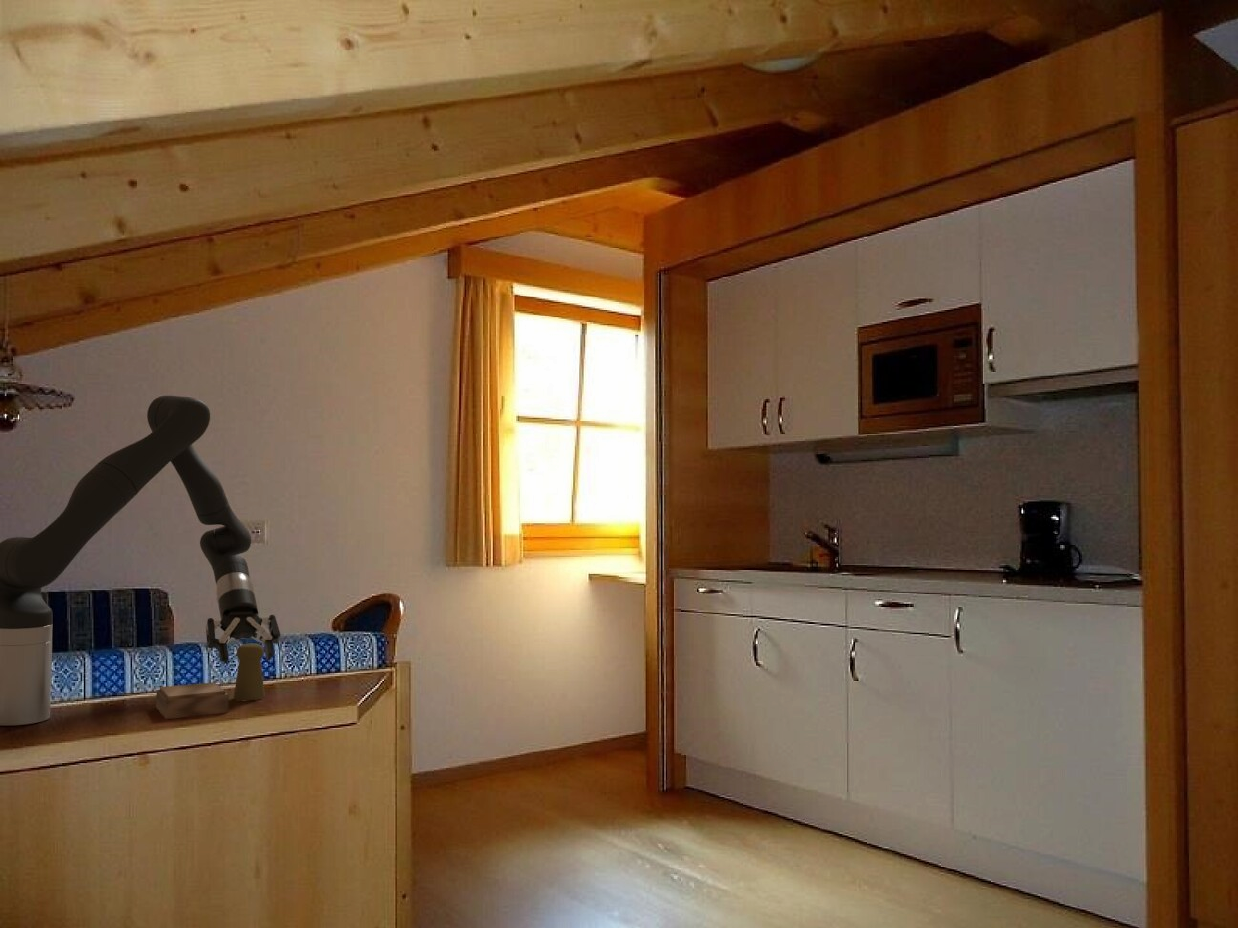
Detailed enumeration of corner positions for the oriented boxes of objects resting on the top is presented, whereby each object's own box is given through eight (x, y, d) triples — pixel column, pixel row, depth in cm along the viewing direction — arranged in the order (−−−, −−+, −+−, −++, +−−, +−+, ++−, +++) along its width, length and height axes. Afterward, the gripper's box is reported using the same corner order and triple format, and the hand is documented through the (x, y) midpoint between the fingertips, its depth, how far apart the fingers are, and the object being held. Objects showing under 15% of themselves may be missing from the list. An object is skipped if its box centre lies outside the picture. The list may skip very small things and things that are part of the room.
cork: (258, 701, 200) (259, 646, 200) (228, 700, 200) (229, 645, 200) (269, 695, 206) (270, 641, 206) (240, 694, 206) (241, 641, 206)
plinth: (165, 718, 184) (166, 697, 184) (156, 707, 193) (156, 686, 193) (228, 712, 190) (228, 691, 190) (216, 701, 199) (216, 681, 199)
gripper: (204, 588, 208) (214, 651, 198) (273, 585, 216) (287, 645, 206) (198, 611, 213) (208, 673, 203) (267, 607, 220) (279, 667, 211)
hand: (248, 659), depth 205 cm, fingers open, 8 cm apart
